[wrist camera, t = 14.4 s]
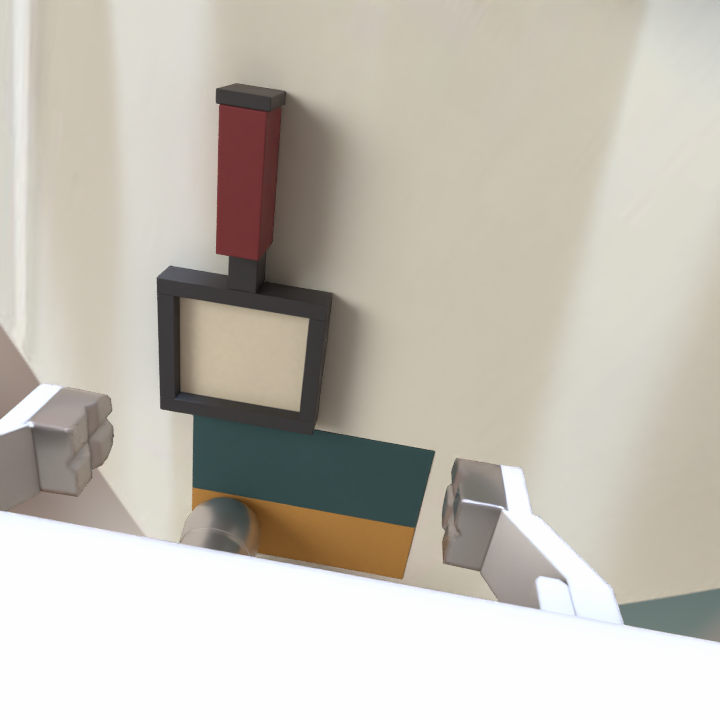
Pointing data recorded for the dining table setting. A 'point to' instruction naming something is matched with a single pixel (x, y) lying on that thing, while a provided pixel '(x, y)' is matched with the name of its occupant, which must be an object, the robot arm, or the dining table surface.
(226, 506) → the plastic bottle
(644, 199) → the dining table surface
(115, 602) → the robot arm
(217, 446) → the mat
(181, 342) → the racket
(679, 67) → the dining table surface
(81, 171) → the dining table surface
